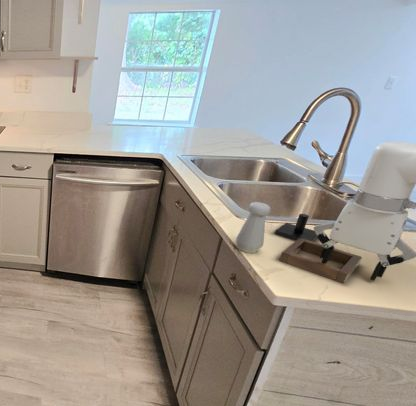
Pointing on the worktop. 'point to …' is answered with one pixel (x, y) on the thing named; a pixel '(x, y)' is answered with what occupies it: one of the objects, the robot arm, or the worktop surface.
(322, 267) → the walnut frame
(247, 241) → the salt shaker
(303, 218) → the peg stand
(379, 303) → the worktop surface
